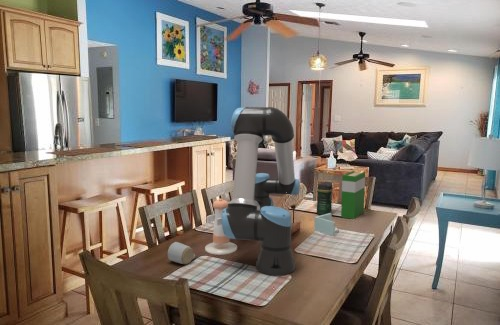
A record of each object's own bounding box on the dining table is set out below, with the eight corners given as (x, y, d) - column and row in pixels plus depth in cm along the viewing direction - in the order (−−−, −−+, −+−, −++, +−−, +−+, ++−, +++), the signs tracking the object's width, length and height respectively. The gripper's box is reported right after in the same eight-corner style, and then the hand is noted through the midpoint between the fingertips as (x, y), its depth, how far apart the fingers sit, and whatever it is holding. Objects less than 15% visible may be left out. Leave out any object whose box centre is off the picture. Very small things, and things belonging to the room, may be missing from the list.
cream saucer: (243, 249, 170) (243, 247, 170) (218, 257, 161) (218, 255, 161) (223, 241, 180) (223, 239, 180) (198, 248, 171) (198, 246, 171)
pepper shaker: (224, 245, 166) (223, 201, 163) (209, 242, 169) (208, 199, 166) (232, 239, 172) (232, 197, 169) (218, 237, 175) (218, 196, 172)
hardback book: (351, 210, 234) (352, 170, 230) (363, 212, 230) (365, 172, 226) (341, 217, 219) (342, 175, 216) (353, 219, 215) (355, 176, 212)
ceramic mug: (182, 267, 151) (182, 248, 150) (167, 263, 155) (166, 244, 154) (200, 259, 160) (200, 241, 159) (184, 255, 164) (184, 237, 163)
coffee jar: (328, 216, 220) (329, 184, 217) (315, 215, 223) (315, 183, 221) (333, 212, 228) (334, 181, 226) (320, 211, 232) (320, 180, 229)
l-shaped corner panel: (333, 237, 187) (333, 222, 186) (314, 231, 196) (314, 217, 195) (348, 232, 194) (349, 218, 193) (329, 226, 203) (330, 213, 202)
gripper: (263, 221, 177) (227, 234, 159) (234, 213, 189) (197, 224, 171) (263, 205, 176) (227, 216, 158) (233, 198, 188) (197, 208, 170)
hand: (212, 220), depth 165 cm, fingers closed on pepper shaker, 5 cm apart
